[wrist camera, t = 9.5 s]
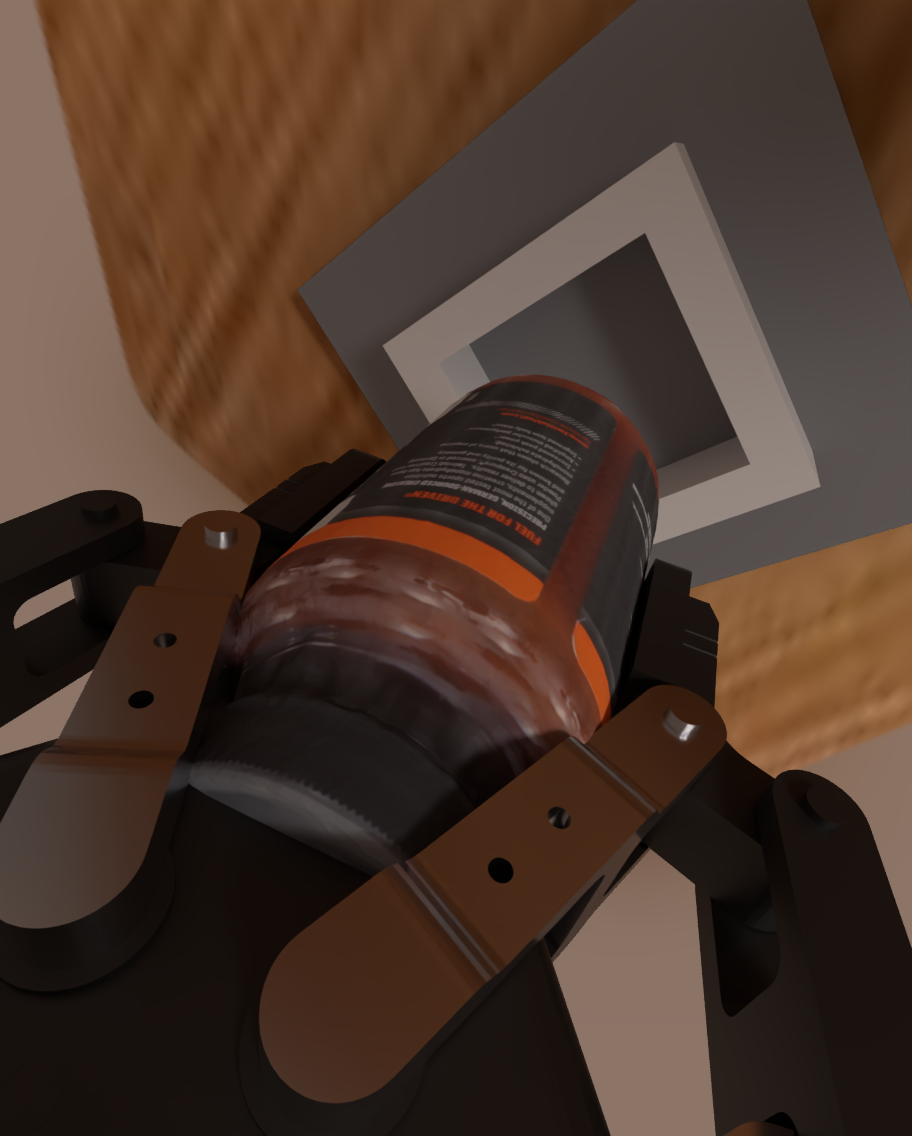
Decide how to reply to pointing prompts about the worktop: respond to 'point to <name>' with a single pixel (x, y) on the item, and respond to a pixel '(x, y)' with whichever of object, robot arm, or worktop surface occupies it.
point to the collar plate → (664, 280)
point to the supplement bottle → (441, 625)
